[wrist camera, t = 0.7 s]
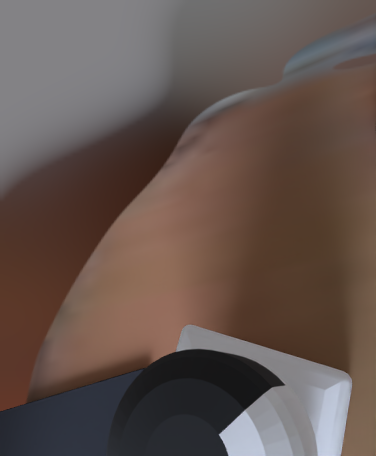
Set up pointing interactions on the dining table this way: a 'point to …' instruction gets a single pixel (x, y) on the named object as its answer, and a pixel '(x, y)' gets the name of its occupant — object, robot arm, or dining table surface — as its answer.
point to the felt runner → (65, 421)
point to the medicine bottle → (231, 403)
